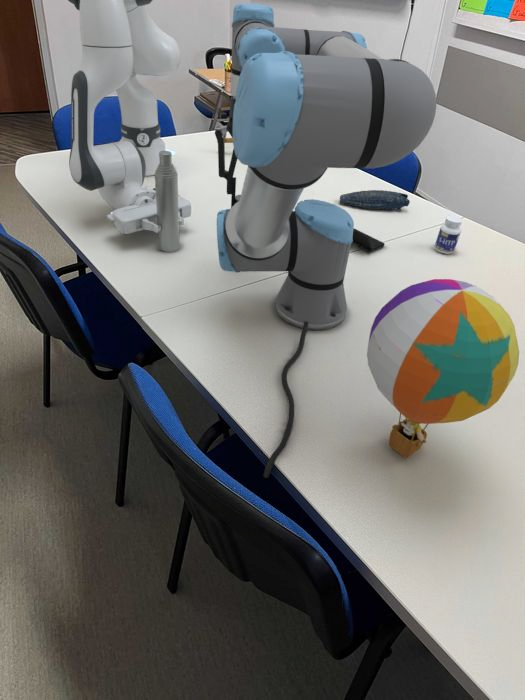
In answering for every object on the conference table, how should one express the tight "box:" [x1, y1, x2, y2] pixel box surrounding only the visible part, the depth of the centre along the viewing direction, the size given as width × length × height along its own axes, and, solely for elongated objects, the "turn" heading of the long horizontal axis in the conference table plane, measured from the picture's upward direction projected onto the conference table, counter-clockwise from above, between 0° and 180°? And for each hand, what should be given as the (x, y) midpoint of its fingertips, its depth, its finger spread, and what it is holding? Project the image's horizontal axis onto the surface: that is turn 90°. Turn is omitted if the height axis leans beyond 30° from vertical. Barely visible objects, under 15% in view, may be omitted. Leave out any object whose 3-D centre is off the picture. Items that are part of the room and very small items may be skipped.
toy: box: [366, 278, 520, 459], centre depth 74 cm, size 20×20×30 cm
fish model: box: [339, 189, 411, 211], centre depth 158 cm, size 7×21×5 cm, turn 84°
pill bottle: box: [434, 215, 463, 255], centre depth 137 cm, size 5×5×9 cm
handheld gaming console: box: [351, 228, 385, 253], centre depth 138 cm, size 12×7×10 cm
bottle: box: [154, 150, 180, 253], centre depth 123 cm, size 5×5×24 cm
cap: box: [235, 194, 241, 204], centre depth 117 cm, size 4×4×2 cm
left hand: (170, 225), depth 126 cm, fingers closed on bottle, 5 cm apart
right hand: (242, 208), depth 118 cm, fingers closed on cap, 4 cm apart
